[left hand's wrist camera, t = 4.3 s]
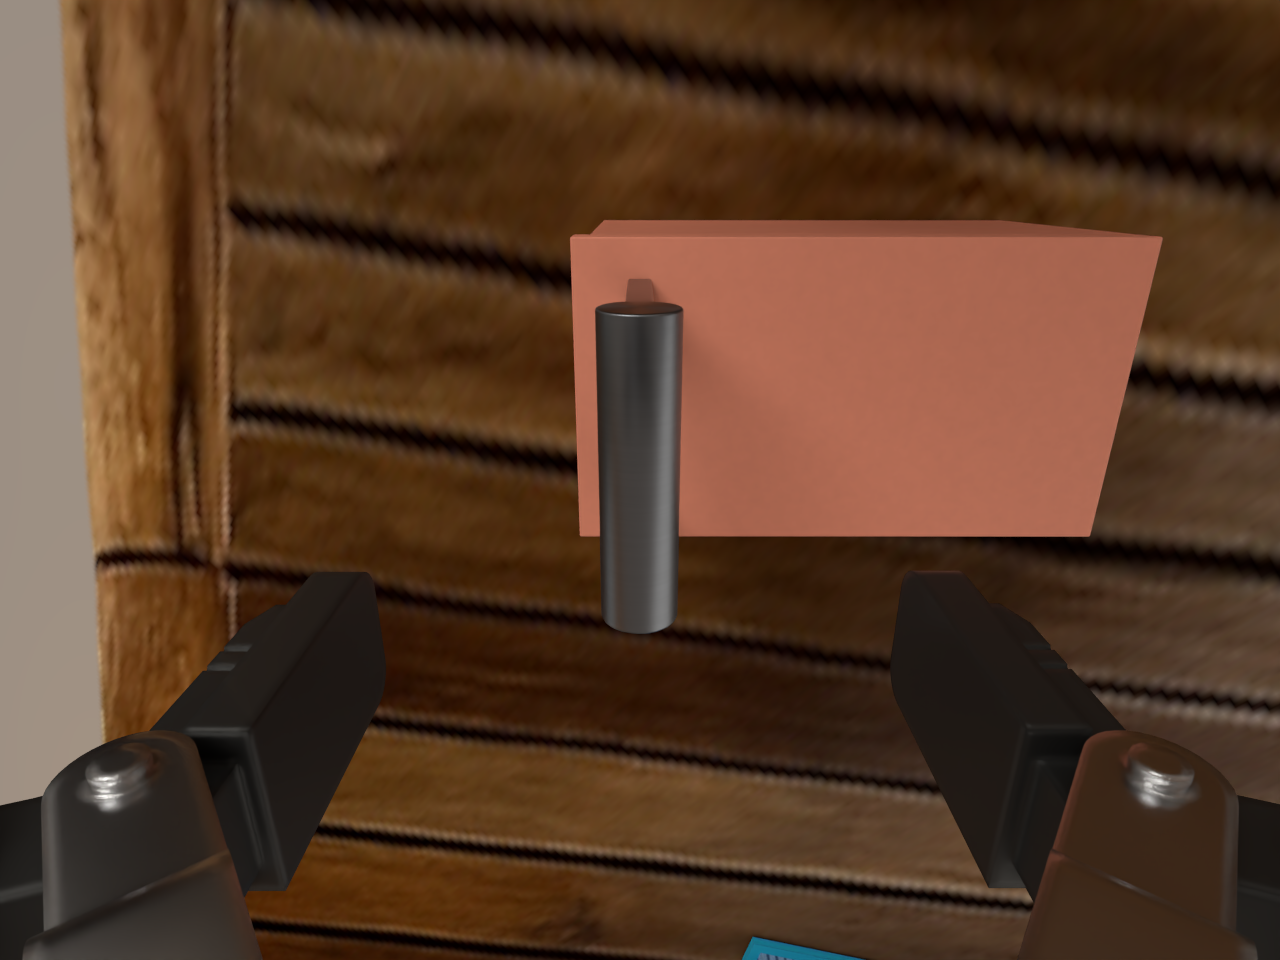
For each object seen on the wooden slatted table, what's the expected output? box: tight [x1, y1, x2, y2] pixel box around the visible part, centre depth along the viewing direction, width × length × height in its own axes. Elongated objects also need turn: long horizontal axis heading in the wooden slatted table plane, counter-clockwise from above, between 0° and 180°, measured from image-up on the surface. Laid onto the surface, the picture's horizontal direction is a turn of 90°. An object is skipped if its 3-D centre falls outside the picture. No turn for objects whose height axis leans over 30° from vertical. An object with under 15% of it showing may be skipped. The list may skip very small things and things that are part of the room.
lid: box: [570, 235, 1163, 634], centre depth 21 cm, size 17×10×9 cm, turn 90°
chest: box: [590, 220, 1134, 235], centre depth 29 cm, size 17×10×9 cm, turn 90°
